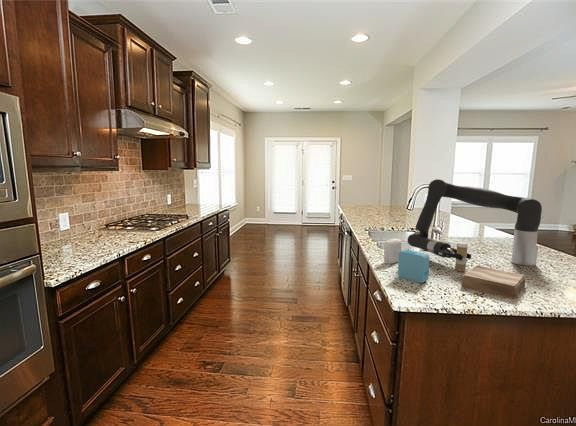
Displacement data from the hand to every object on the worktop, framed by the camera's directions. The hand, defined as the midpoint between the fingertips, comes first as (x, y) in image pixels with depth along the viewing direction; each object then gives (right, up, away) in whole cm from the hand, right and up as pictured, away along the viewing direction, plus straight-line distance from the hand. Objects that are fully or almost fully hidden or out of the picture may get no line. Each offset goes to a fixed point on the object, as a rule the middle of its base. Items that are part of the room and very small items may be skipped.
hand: (466, 257), depth 142 cm
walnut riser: (+2, -10, -16) cm, 19 cm away
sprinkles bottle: (-1, -7, +4) cm, 8 cm away
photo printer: (-28, -5, +18) cm, 34 cm away
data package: (-28, -9, -7) cm, 30 cm away
